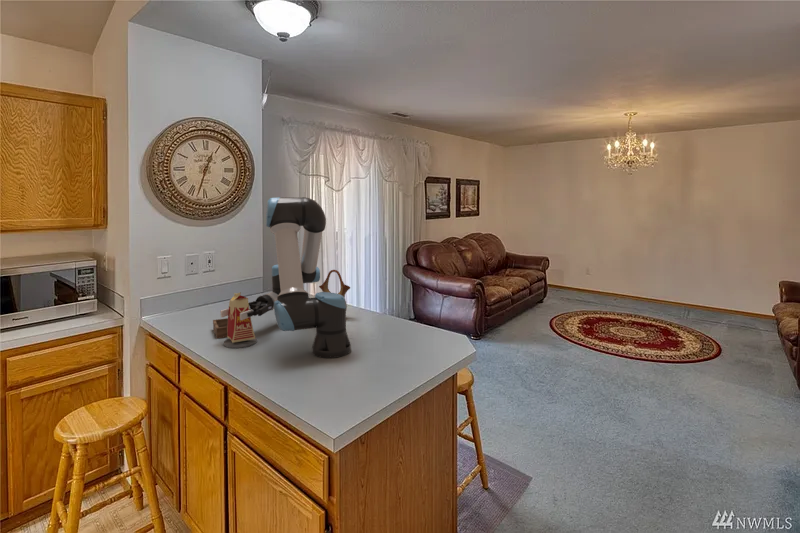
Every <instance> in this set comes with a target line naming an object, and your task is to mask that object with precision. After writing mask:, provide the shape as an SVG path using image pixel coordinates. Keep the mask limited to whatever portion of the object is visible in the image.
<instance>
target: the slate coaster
mask: <svg viewBox="0 0 800 533" xmlns="http://www.w3.org/2000/svg"><path fill="white" fill-rule="evenodd" d="M255 338H256V339H251V340H246V341H240V342H234V343H232V341H231V339H229V338H227V339H226V340H224V341H223V346H224V347H225V348H227V349H243V348H248V346H249V347H252V346H254V345H255V344H257V343H258V338H257V337H256V336H255ZM251 345H252V346H251Z"/></svg>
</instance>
